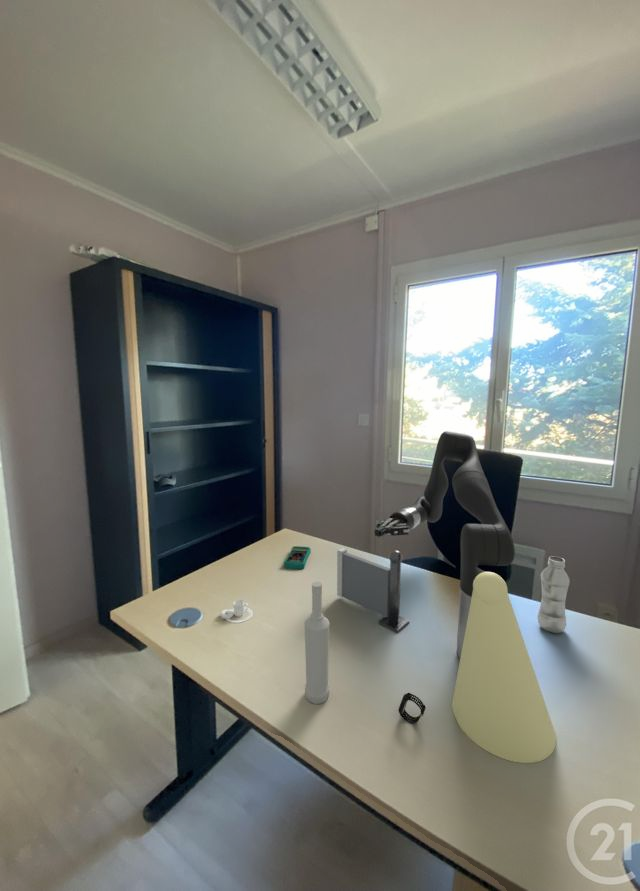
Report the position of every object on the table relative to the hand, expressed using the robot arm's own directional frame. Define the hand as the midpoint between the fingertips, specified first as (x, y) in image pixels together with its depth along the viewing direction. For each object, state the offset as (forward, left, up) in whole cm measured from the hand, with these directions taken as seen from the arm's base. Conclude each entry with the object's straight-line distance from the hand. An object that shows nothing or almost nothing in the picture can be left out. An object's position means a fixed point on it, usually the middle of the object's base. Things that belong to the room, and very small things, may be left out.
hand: (376, 533), depth 116 cm
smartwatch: (-47, +2, -20) cm, 51 cm away
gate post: (-16, -2, -20) cm, 26 cm away
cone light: (-49, -14, -20) cm, 55 cm away
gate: (-9, +6, -19) cm, 21 cm away
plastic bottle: (-20, -44, -20) cm, 53 cm away
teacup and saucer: (-8, +44, -21) cm, 49 cm away
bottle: (-40, +20, -20) cm, 49 cm away
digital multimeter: (+25, +26, -21) cm, 41 cm away
